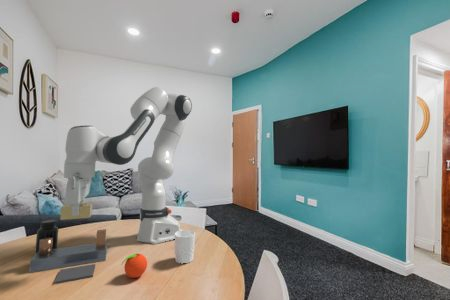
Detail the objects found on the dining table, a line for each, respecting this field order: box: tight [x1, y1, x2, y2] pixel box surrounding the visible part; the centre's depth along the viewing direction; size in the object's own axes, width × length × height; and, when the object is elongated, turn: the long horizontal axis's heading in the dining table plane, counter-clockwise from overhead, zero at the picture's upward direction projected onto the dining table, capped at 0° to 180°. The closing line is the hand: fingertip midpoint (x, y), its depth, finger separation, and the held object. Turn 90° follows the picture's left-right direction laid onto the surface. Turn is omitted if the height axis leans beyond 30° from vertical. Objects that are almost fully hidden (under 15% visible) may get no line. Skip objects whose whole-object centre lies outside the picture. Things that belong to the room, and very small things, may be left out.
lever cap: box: [60, 202, 93, 221], centre depth 73 cm, size 8×5×4 cm, turn 115°
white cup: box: [174, 229, 196, 265], centre depth 82 cm, size 8×8×10 cm
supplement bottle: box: [34, 219, 59, 254], centre depth 87 cm, size 7×7×12 cm
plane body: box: [29, 228, 108, 273], centre depth 79 cm, size 22×8×10 cm, turn 116°
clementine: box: [121, 253, 148, 279], centre depth 70 cm, size 8×7×7 cm
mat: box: [53, 263, 96, 285], centre depth 71 cm, size 10×8×1 cm
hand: (77, 213), depth 73 cm, fingers closed on lever cap, 5 cm apart
